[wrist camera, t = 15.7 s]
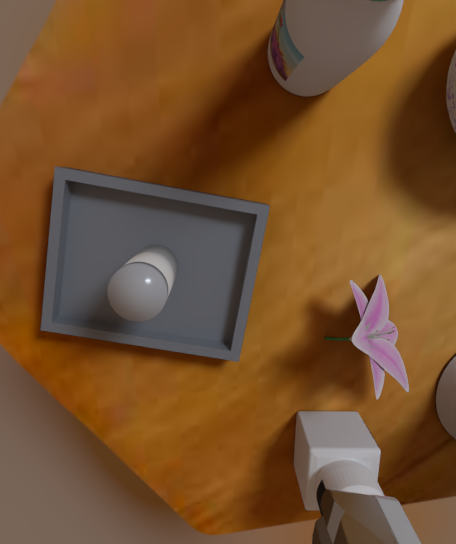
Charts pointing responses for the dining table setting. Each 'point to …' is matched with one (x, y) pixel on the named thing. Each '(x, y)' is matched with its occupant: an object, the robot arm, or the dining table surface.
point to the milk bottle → (327, 40)
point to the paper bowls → (452, 91)
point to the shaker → (143, 283)
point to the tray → (136, 235)
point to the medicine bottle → (334, 455)
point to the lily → (377, 336)
